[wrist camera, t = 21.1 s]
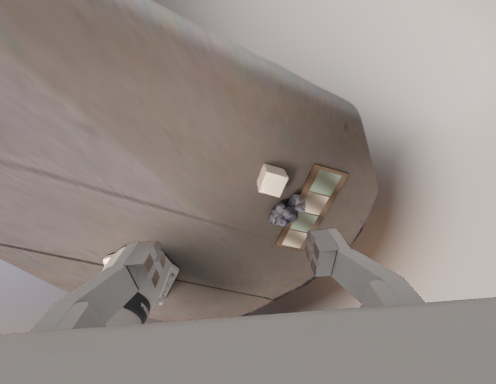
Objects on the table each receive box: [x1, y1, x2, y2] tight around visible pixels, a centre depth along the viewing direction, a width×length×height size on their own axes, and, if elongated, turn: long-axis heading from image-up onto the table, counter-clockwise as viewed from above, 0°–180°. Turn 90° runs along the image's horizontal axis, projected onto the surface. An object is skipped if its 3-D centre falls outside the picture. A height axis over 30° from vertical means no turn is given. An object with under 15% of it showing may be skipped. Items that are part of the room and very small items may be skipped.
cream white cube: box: [257, 163, 289, 198], centre depth 39 cm, size 4×4×4 cm
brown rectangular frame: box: [275, 164, 349, 251], centre depth 45 cm, size 23×8×1 cm, turn 163°
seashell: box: [268, 194, 306, 227], centre depth 43 cm, size 5×5×10 cm
